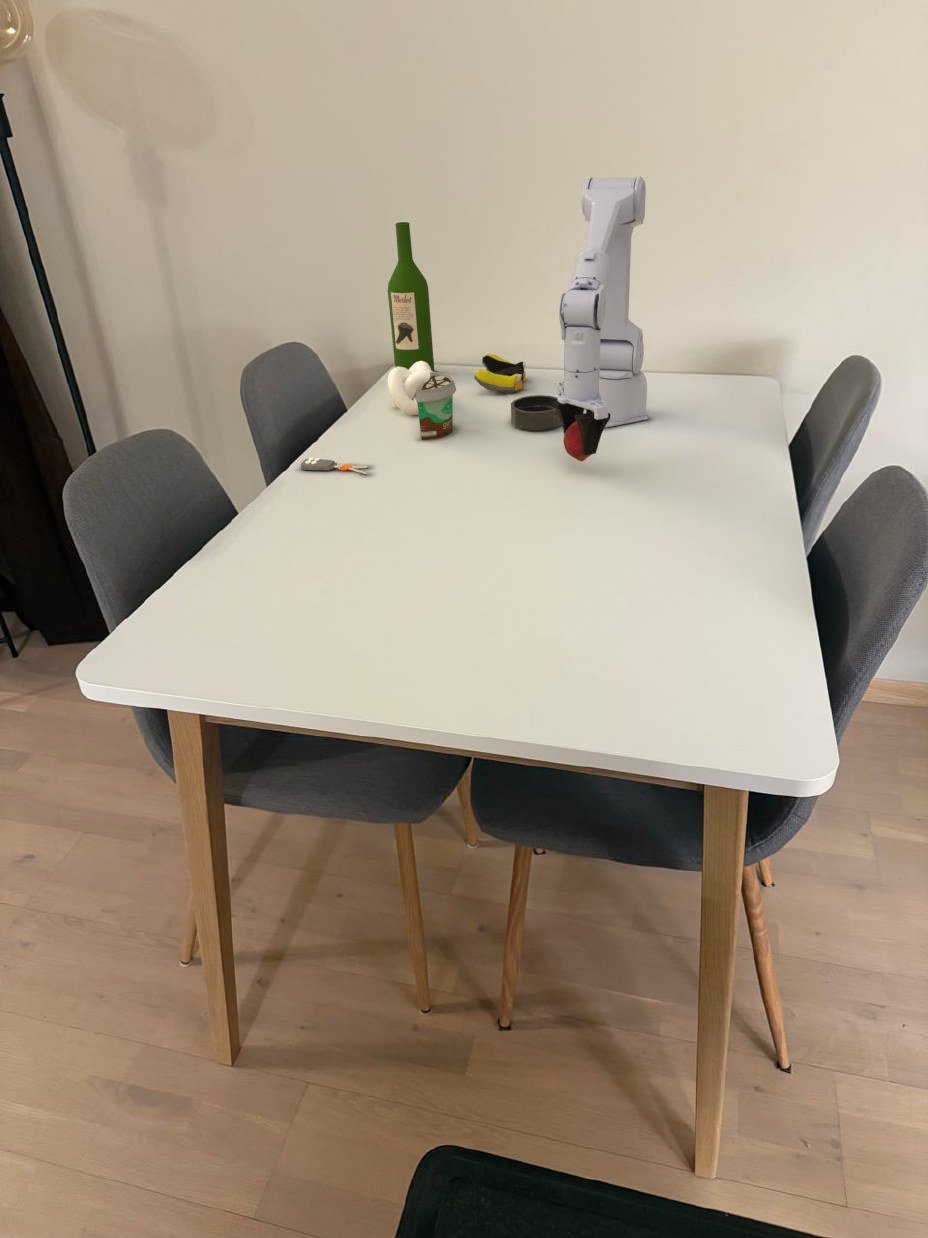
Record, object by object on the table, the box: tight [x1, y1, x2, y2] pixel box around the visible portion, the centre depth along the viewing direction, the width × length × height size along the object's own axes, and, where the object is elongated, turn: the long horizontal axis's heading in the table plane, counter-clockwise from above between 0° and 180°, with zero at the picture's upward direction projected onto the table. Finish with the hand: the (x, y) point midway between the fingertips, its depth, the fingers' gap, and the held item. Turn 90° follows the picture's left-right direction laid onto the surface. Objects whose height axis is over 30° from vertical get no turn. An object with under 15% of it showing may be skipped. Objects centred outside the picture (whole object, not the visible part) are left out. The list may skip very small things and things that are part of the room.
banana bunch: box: [473, 353, 527, 395], centre depth 196 cm, size 15×6×10 cm
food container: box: [416, 371, 457, 441], centre depth 173 cm, size 12×6×10 cm, turn 168°
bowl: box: [510, 394, 562, 432], centre depth 175 cm, size 10×10×4 cm
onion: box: [562, 421, 593, 462], centre depth 151 cm, size 6×6×8 cm
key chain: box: [300, 457, 369, 475], centre depth 162 cm, size 13×4×2 cm, turn 75°
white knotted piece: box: [387, 361, 433, 416], centre depth 186 cm, size 11×12×9 cm
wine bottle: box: [387, 221, 435, 372], centre depth 199 cm, size 9×9×32 cm
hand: (580, 447), depth 152 cm, fingers closed on onion, 6 cm apart
